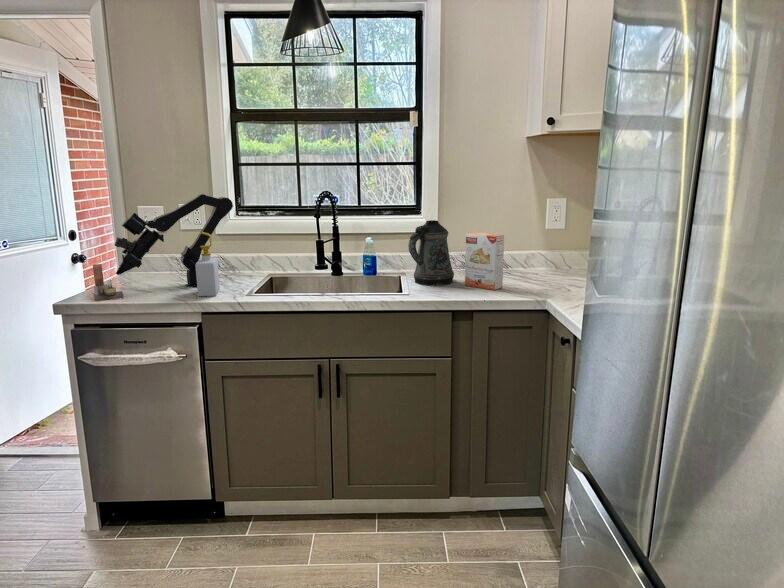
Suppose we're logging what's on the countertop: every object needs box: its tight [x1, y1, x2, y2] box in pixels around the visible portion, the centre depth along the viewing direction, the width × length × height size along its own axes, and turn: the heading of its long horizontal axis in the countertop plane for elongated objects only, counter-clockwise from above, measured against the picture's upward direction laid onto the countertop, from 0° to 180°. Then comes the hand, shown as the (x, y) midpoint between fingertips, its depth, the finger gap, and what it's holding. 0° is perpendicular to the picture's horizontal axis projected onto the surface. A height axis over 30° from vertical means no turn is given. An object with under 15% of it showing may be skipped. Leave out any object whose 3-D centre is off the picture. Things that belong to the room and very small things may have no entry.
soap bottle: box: [195, 231, 221, 297], centre depth 215 cm, size 12×7×23 cm, turn 10°
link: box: [92, 263, 117, 295], centre depth 212 cm, size 12×4×10 cm, turn 50°
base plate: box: [93, 290, 125, 302], centre depth 212 cm, size 10×9×1 cm
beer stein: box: [407, 219, 455, 287], centre depth 231 cm, size 16×19×25 cm
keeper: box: [93, 280, 113, 296], centre depth 211 cm, size 6×7×6 cm
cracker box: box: [464, 231, 505, 291], centre depth 221 cm, size 14×6×21 cm, turn 47°
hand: (116, 274), depth 218 cm, fingers closed
